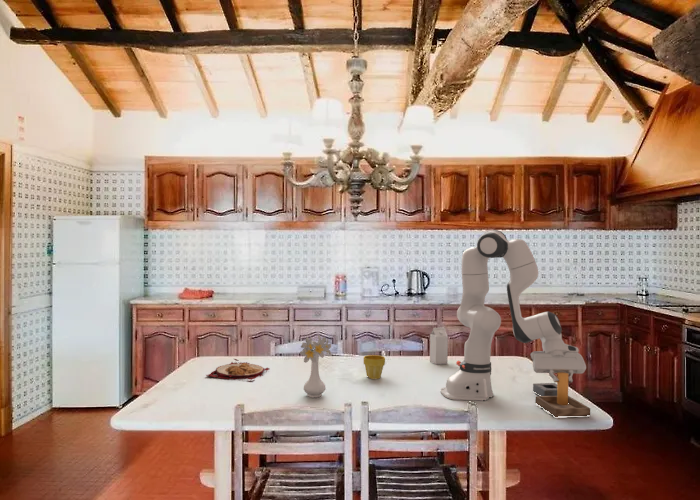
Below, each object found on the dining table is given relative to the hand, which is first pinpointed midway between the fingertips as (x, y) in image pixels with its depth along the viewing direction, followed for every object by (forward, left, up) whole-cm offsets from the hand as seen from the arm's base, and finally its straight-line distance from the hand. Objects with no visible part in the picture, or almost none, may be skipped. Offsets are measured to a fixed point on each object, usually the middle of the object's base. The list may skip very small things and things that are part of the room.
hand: (563, 381), depth 205 cm
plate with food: (-130, +68, -13) cm, 147 cm away
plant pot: (-66, +55, -12) cm, 86 cm away
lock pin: (0, +1, -9) cm, 9 cm away
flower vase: (-96, +28, -12) cm, 101 cm away
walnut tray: (0, +1, -12) cm, 12 cm away
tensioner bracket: (+5, +20, -12) cm, 23 cm away
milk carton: (-26, +81, -12) cm, 86 cm away
